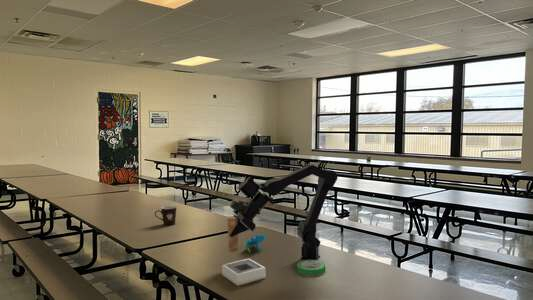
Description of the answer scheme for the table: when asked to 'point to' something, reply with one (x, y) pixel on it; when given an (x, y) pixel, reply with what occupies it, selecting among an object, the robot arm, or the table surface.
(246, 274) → the bore box
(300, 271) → the tape roll
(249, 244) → the blue figurine
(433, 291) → the table surface
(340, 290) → the table surface
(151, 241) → the table surface
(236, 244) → the peg
